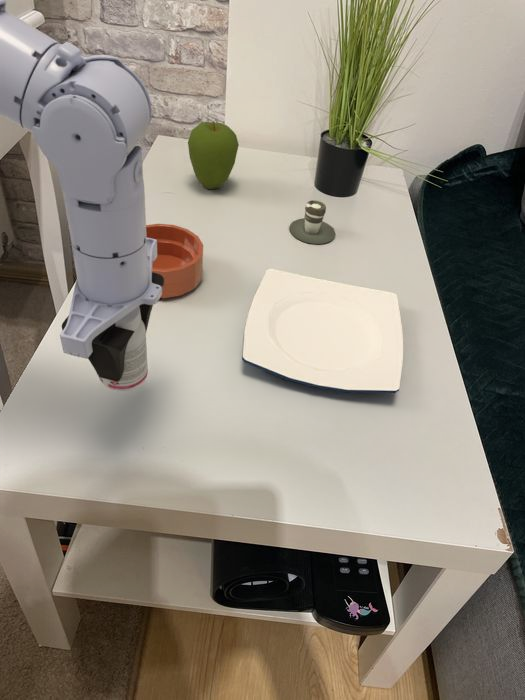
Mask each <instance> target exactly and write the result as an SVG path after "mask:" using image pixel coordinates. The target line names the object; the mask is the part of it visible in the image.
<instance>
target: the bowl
mask: <svg viewBox="0 0 525 700" xmlns="http://www.w3.org/2000/svg"><path fill="white" fill-rule="evenodd" d="M146 235H147V238H151V239H156V240H157V258H156V259H155V261H153V263H152V272H154V273H157V274H160V275H162V276H163V278H164V285H163V287H162V295H161V297H160V298H161V299H169V298H173V297H180V296H183V295H185V294H187V293H189V292H191V291H193V290H194V289H196V288H197V286H198V285H199V284H200V282H202V279H203V264H204V243H203V242H202V241H201V238H200V237H199V236H198V235H197V234H195V233H194V232H192V231H191V230H189V229H187V228H185V227H182V226H178V225H176V224H169V223H168V224H167V223H152V224H146ZM160 298H159V299H160Z"/></svg>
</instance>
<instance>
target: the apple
mask: <svg viewBox="0 0 525 700" xmlns="http://www.w3.org/2000/svg"><path fill="white" fill-rule="evenodd" d="M239 145H240V144H239V141H238V137H237V134H236V133H235V131H234V130H233V129H232V128H230V126H228V125H227V124H225V123H221V122H215V121H202V122H200V123H199V124H198V125H196V126H195V127H194V128H192V130H191V132H190V135H189V137H188V140H187V146H188V155H189V160H190V163H191V166H192V169H193V172H194V175H195V178H196V180H197V181H198V182H199V184H200V185H201V186H202V187H203V188H204V189H208V190H215V189H219V188H220V187H221V186H222V185H224V184H225V183H226V182H227V181H228V180H229V177H230V175H231V173H232V170H233V168H234V165H235V163H236V158H237V154H238V149H239Z"/></svg>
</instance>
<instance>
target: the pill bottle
mask: <svg viewBox="0 0 525 700" xmlns="http://www.w3.org/2000/svg"><path fill="white" fill-rule="evenodd" d="M115 324H116V327H120V328H124V329H128V330H132V331H135V332H134V333H133V335H132V337H131V338H130V340H129V342H128V344H127V347H126V351H125V360H124V372H123V375H122V377H121V379H120V381H119V382H116V381H112V380H108V379H104V378H100V377H99V376H98V378H99V381H100V383H101V384H102V385H103V386H104V387H106V388H108V389H109V390H112V391H116V392H128V391H131V390H134V389H136V388H138V387H140V386H141V385H143V384H144V382H146V379H147V377H148V374H149V366H148V365H149V364H148V349H147V347H148V346H147V331H146V329H145V325H144V323H143V321H142V320H141V314H140V308H139V306H138V307H137V308H135V309H134V310H132V311H131V312H130V313H128V314H127V315H125V316H124V317H123V318H121V319H120V320H118V321H117V322H115Z"/></svg>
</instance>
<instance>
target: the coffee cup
mask: <svg viewBox="0 0 525 700" xmlns="http://www.w3.org/2000/svg"><path fill="white" fill-rule="evenodd" d="M304 210H305V211H304V217H303V218H302V217H301V218H297V219H296V220H294V221H292V222H291V223H290V225H289V227H288V228H289V232H290V234H291V235H292V236H293V237H294V238H295V239H296V240H299V241H300V242H303V243H306V244H308V245H309V244H310V245H324V244H327V243H330V242H332V241H333V240H334V239H335V238H336V231H335V229H334V227H333V226H331V225H330V224H329V223H328V222H325V221H323V220H324V217H325V214H326V212H327V205H326V204H325V203H324V202H322V201H321V200H315V199H312V200H308V201H307V202H306V204H305V207H304Z"/></svg>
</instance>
